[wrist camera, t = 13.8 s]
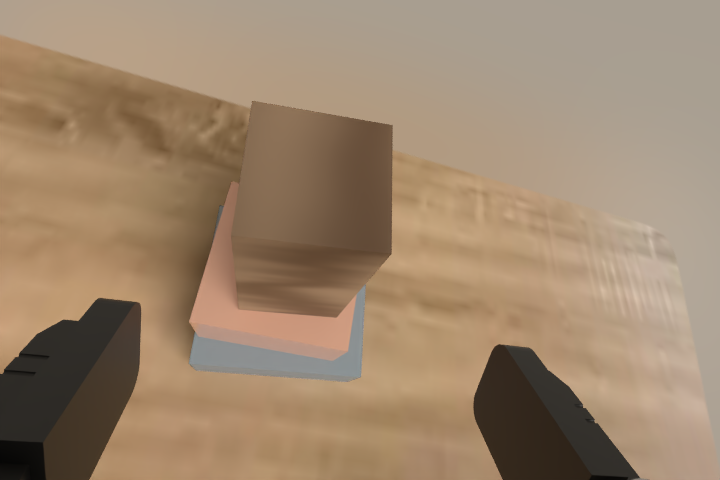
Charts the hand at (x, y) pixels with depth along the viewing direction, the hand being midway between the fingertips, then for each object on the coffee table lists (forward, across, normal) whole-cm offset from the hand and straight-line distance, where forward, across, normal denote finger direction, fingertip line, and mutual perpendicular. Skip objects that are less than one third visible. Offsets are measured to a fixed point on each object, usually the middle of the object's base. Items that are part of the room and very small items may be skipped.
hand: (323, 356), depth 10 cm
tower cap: (+17, +1, +8) cm, 18 cm away
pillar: (+13, 0, +5) cm, 14 cm away
